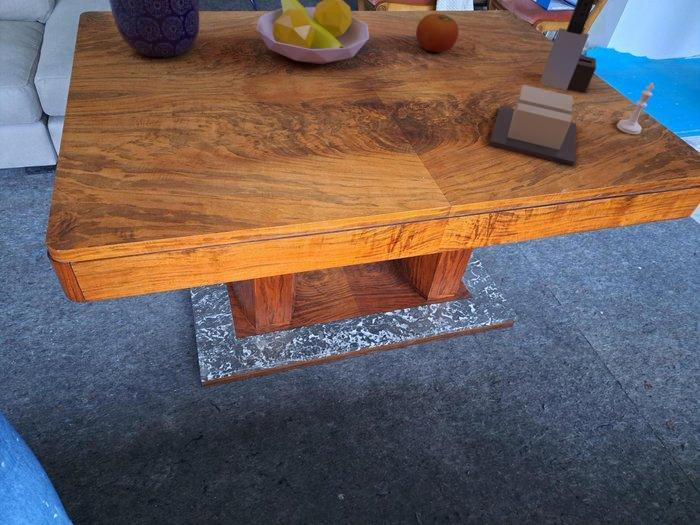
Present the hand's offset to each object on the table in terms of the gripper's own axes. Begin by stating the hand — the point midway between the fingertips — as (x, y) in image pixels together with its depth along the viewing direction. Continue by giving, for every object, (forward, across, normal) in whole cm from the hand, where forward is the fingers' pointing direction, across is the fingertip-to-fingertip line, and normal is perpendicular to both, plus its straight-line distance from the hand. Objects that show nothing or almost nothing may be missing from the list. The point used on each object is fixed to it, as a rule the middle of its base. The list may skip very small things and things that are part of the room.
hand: (579, 18), depth 86 cm
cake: (+22, +4, 0) cm, 22 cm away
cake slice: (+22, -2, 0) cm, 22 cm away
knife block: (+23, +31, -6) cm, 39 cm away
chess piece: (+23, +15, -19) cm, 33 cm away
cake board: (+23, +1, 0) cm, 23 cm away
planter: (+23, 0, +85) cm, 88 cm away
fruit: (+23, +34, +28) cm, 50 cm away
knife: (+12, 0, 0) cm, 12 cm away
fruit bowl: (+23, +17, +55) cm, 62 cm away
